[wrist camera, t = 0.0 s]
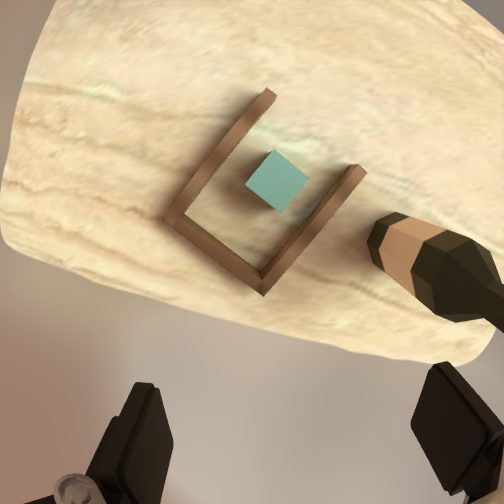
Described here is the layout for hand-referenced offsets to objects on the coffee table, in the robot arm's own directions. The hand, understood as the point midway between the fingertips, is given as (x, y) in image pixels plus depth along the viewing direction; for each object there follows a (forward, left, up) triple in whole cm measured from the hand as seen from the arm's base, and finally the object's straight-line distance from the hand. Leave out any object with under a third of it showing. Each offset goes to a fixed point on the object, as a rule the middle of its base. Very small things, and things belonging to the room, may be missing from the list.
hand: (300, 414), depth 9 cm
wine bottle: (-10, +15, -31) cm, 36 cm away
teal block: (-6, -3, -31) cm, 32 cm away
